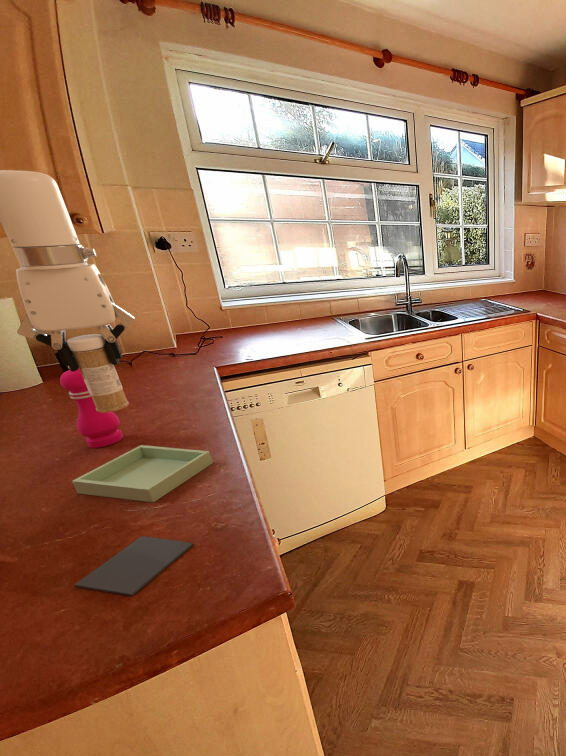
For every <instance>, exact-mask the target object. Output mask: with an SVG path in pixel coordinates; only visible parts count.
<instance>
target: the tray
mask: <svg viewBox="0 0 566 756" xmlns="http://www.w3.org/2000/svg"><path fill="white" fill-rule="evenodd" d="M212 464H214V461H213V458H212V455H211V452H210V451H209V450H201V449H200V450H199V449H187V448H177V447H168V446H167V447H166V446H155V445H146V444H145V445H144V444H140V445H139V446H136V447H135V448H132V449H131V450H129V451H127V452H125V453H123V454H120V455H119V456H118V457H115V458H113V459H112V460H110V461H107V462H106V463H104V464H102V465H100V466H98V467H96V468H94V469H92V470H90V471H88V472H87V473H84V474H83V475H81V476H78V477H76V478H75V479H73V480H71V483H72V484H73V486H74V488H75V490H76V493H77V494H80V495H86V496H87V495H88V496H97V497H105V498H113V499H123V500H130V501H140V502H145V503H146V502H147V503H155V502H156V501H158V500H159V499H161V498H162V497H165V495H167V494H169V493H170V492H171V491H173V490H174V489H176V488H177V487H179V486H181V485H182V484H183V483H185V482H187V481H188V480H190V479H191V478H192V477H194V476H195V475H197V474H198V473H200V472H201V471H203V470H205V469H206V468H207V467H210V466H211V465H212Z"/></svg>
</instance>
